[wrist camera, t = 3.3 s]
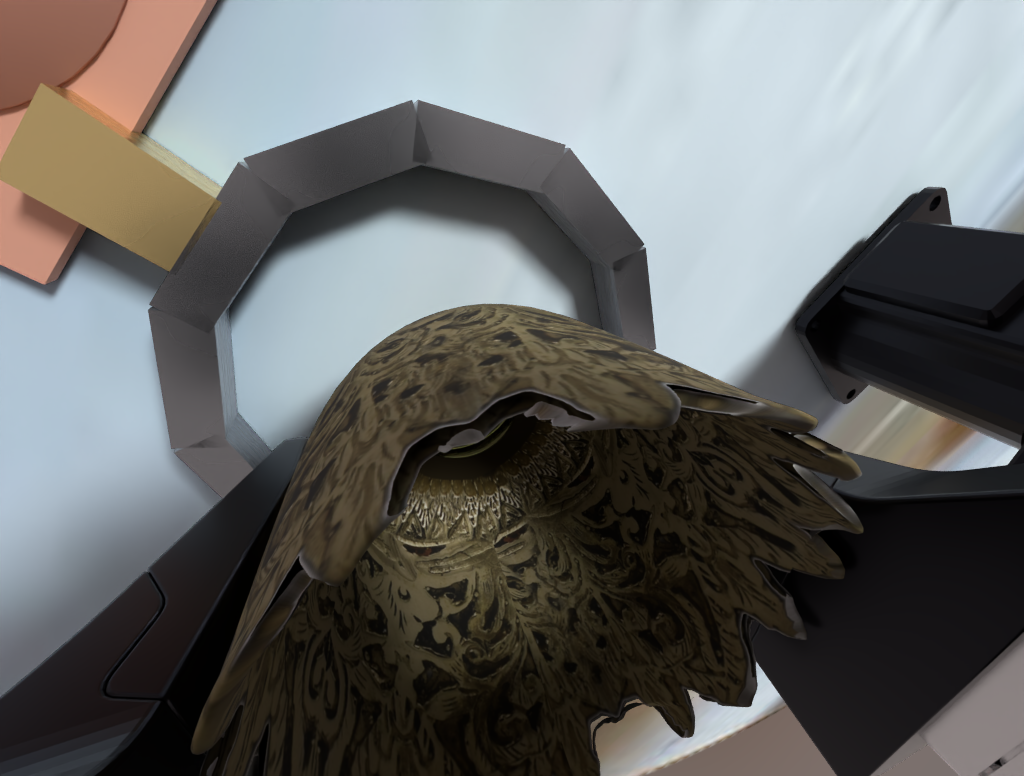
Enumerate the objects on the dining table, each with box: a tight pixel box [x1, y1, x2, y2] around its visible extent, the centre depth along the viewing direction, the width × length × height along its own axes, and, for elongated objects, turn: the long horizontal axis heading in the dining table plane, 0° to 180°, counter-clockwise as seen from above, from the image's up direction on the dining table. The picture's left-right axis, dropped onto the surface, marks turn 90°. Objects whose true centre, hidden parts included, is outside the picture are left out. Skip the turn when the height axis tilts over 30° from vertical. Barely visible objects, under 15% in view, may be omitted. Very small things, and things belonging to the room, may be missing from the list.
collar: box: [0, 83, 656, 498], centre depth 11 cm, size 17×12×1 cm
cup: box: [191, 304, 863, 776], centre depth 8 cm, size 8×7×8 cm
